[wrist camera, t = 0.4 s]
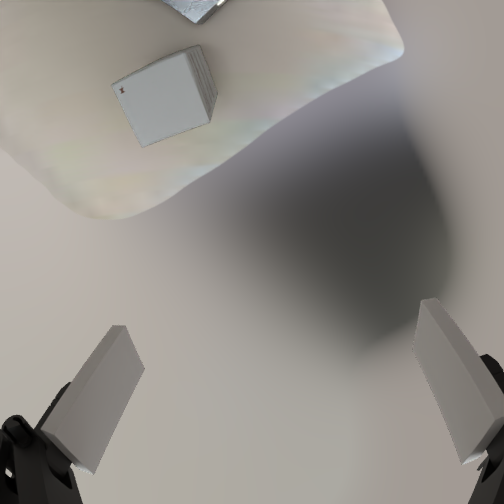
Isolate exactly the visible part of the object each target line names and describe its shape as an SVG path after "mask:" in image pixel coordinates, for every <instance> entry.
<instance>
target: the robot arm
mask: <svg viewBox="0 0 504 504" xmlns="http://www.w3.org/2000/svg"><path fill="white" fill-rule="evenodd" d="M412 350H413V352H414V354H415V356H416V358H417V360H418V362H419V364H420V366H421V368H422V370H423V373H424V375H425V377H426V379H427V381H428V383H429V386H430V388H431V390H432V392H433V394H434V397H435V399H436V401H437V403H438V406H439V408H440V410H441V413H442V415H443V418H444V420H445V422H446V425H447V427H448V430H449V432H450V435H451V437H452V440H453V442H454V445H455V448H456V451H457V453H458V456H459V459H460V462H461V465H463V464H466V463H468V462H470V461H473V460H475V459H477V458H479V457H480V456H481V455H482V453H483V452H484V451H485V450H487V453H488V456H487V458H486V459H485V460H484V461H483V462H482V463H481V464H480V466H479V467H478V469H477V470H478V471H479V470H480V469H481V468H482V467H483V469H482V471H481V474H480V476H479V479H478V481H477V484H476V486H475V489H474V491H473V494H472V496H471V498H470V500H469V502H468V504H504V372H503V369H502V368H501V366H500V365H499V363H498V362H497V361H496V360H495V359H493V358H492V357H491V356H489V355H488V354H485V355H482V356H478V354H477V352H476V351H475V350H474V348H473V346H472V345H471V344H470V342H469V341H468V340H467V338H466V337H465V335H464V334H463V332H462V331H461V330H460V329H459V327H458V326H457V324H456V323H455V322H454V320H453V319H452V318H451V317H450V315H449V314H448V313H447V311H446V310H445V309H444V307H443V306H442V305H441V303H440V302H439V301H438V300H437V298H431V299H426V300H421V304H420V311H419V317H418V322H417V328H416V333H415V339H414V343H413V348H412ZM144 369H145V368H144V366H143V364H142V362H141V360H140V358H139V355H138V353H137V351H136V349H135V347H134V344H133V342H132V340H131V338H130V335H129V333H128V330H127V328H126V326H116V325H115V326H114V325H113V326H112V327H111V328H110V330H109V331H108V332H107V334H106V335H105V336H104V338H103V339H102V340H101V342H100V343H99V344H98V346H97V347H96V349H95V350H94V351H93V353H92V354H91V355H90V357H89V358H88V359H87V361H86V362H85V364H84V365H83V366H82V368H81V369H80V371H79V372H78V374H77V375H76V376H75V378H74V379H73V381H72V382H69V383H67V384H66V385H65V386H64V387H63V388H61V390H60V391H59V393H58V394H57V395H56V397H55V399H54V400H53V401H52V403H51V406H49V407H48V409H47V410H46V412H45V413H44V415H43V416H42V418H41V419H40V421H39V422H38V424H37V425H36V427H35V428H34V430H33V428H32V427H31V426H30V425H29V424H28V423H27V421H26V420H25V419H24V418H23V417H22V416H20V415H13V416H11V417H9V418H8V419H7V420H6V421H5V422H4V424H3V425H2V429H0V504H83V503H82V500H81V497H80V493H79V490H78V487H77V483H76V480H75V476H74V473H73V471H72V469H71V468H70V465H71V463H73V464H74V465H76V467H77V468H79V470H82V471H85V472H87V473H90V474H93V475H94V473H95V471H96V469H97V467H98V465H99V462H100V460H101V458H102V456H103V454H104V452H105V449H106V447H107V445H108V443H109V441H110V439H111V436H112V435H113V432H114V430H115V428H116V426H117V424H118V422H119V419H120V418H121V416H122V413H123V412H124V410H125V407H126V405H127V403H128V401H129V399H130V397H131V395H132V393H133V391H134V389H135V387H136V385H137V383H138V381H139V379H140V377H141V375H142V373H143V371H144ZM6 468H7V469H8V470H9V471H10V472H11V473H12V476H11V478H10V477H9V476H8V475H6V474H5V471H6Z"/></svg>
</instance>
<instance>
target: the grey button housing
mask: <svg viewBox="0 0 504 504" xmlns="http://www.w3.org/2000/svg"><path fill="white" fill-rule="evenodd" d="M162 1H163V2H165V3H166V4H168V5H169V6H171V7H172V8H174V9H175V10H177V11H178V12H180V13H181V14H183V15H184V16H186V17H187V18H188V19H190V20H191V21H193V22H194V23H195V24H203V23H204V22H205V21H206V20H207V19H208V18H209V17H210V16H211V15H212V14H213V13H214V12H215V11H217V10H218V9H219V8H220V7H221V6H222V5H223V4H224V3H225V2H226V1H227V0H162Z"/></svg>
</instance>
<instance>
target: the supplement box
mask: <svg viewBox="0 0 504 504" xmlns="http://www.w3.org/2000/svg"><path fill="white" fill-rule="evenodd" d="M111 86H112V88H113V90H114V92H115V94H116V96H117V98H118V100H119V102H120V104H121V106H122V108H123V111H124V113H125V115H126V117H127V119H128V121H129V123H130V125H131V127H132V129H133V131H134V133H135V135H136V137H137V139H138V141H139V143H140V145H141V147H145V146H148V145H151V144H153V143H156V142H158V141H161V140H163V139H166V138H169V137H171V136H174V135H177V134H179V133H182V132H185V131H187V130H190V129H193V128H196V127H199V126H201V125H204V124H207V123H210V120H211V117H212V113H213V109H214V105H215V101H216V98H217V94H218V92H217V90H216V87H215V85H214V82H213V79H212V77H211V74H210V71H209V69H208V66H207V63H206V61H205V58H204V55H203V53H202V50H201V47H200V45H196V46H193V47H190V48H187V49H184V50H181V51H178V52H176V53H173V54H171V55H168V56H166V57H164V58H161V59H159V60H157V61H155V62H153V63H151V64H149V65H147V66H145V67H143V68H141V69H139V70H137V71H135V72H133V73H131V74H129V75H127V76H126V77H124V78H122V79H120V80H118V81H117V82H115V83H113V84H112V85H111Z"/></svg>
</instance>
